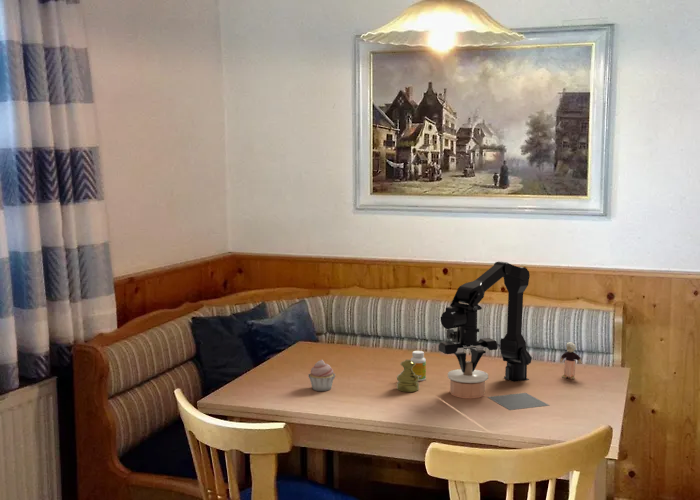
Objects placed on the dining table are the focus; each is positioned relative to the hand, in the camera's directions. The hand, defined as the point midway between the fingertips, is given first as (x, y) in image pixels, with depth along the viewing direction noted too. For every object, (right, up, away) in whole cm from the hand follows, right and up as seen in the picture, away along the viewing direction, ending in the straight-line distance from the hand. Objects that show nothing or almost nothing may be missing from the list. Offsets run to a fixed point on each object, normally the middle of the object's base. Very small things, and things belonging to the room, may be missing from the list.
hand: (467, 371), depth 254 cm
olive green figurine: (-19, -7, +7) cm, 22 cm away
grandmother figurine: (+39, -5, +20) cm, 44 cm away
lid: (0, -2, 0) cm, 2 cm away
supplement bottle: (-15, -6, +19) cm, 25 cm away
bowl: (0, -8, +1) cm, 8 cm away
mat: (+15, -8, -8) cm, 19 cm away
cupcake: (-48, -7, +8) cm, 49 cm away
